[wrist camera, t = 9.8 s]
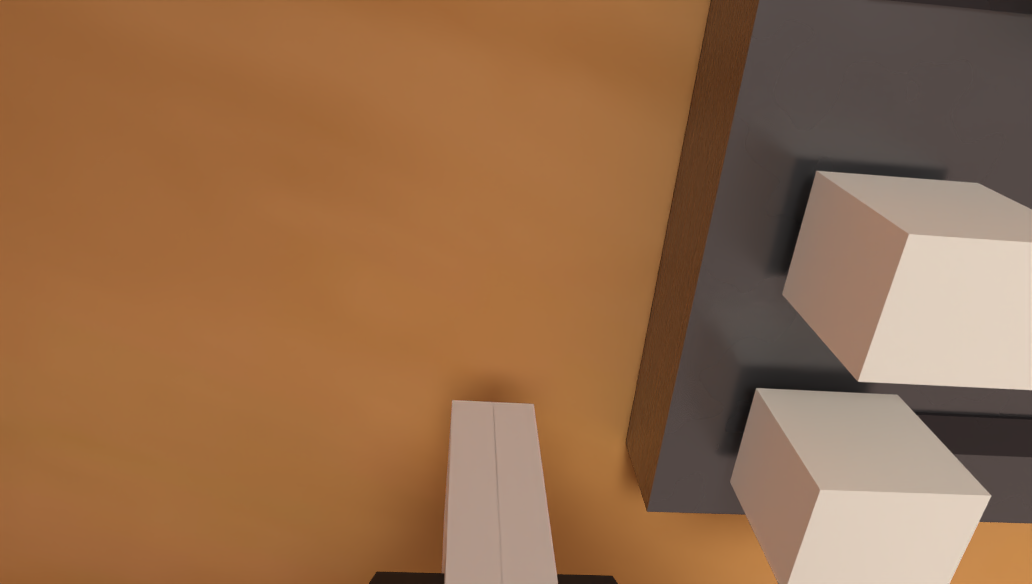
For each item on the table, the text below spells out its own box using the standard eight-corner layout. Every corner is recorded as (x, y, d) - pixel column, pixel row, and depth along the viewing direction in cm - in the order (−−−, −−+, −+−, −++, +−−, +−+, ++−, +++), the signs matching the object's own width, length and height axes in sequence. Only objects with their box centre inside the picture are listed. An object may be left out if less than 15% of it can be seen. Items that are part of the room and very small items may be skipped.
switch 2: (756, 388, 15) (820, 489, 12) (897, 394, 15) (991, 495, 12) (730, 481, 16) (783, 594, 13) (863, 486, 16) (942, 598, 13)
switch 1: (816, 170, 13) (908, 234, 10) (978, 182, 13) (1110, 247, 10) (782, 294, 14) (857, 381, 11) (932, 303, 14) (1041, 391, 11)
